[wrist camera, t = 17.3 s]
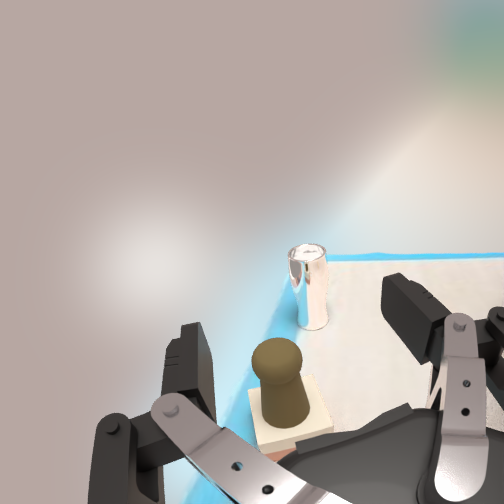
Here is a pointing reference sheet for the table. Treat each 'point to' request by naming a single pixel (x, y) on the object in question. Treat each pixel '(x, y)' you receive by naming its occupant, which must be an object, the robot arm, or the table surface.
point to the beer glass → (309, 284)
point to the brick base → (283, 440)
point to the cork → (281, 383)
